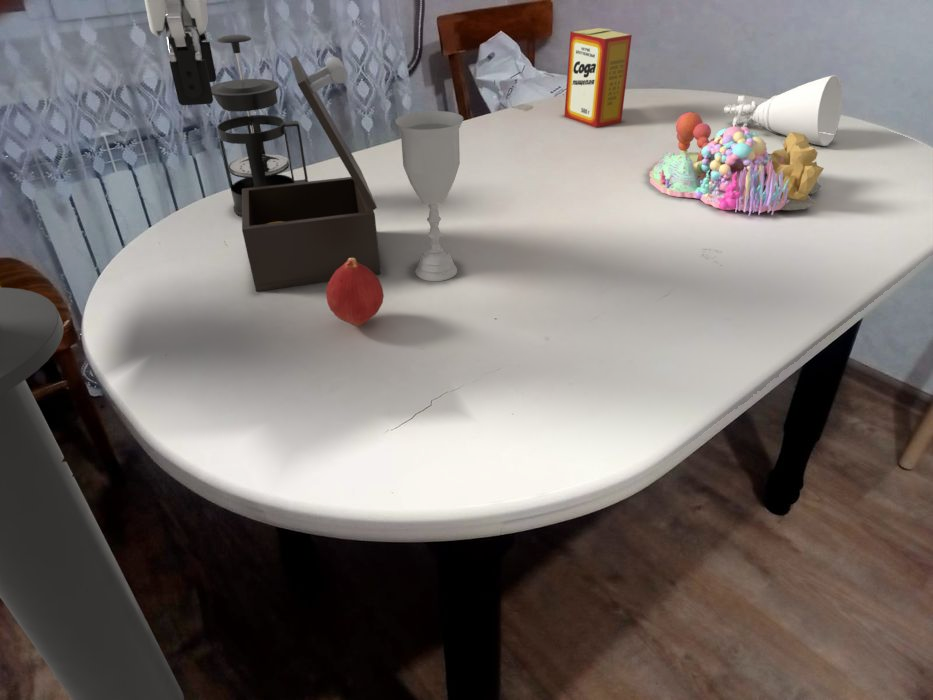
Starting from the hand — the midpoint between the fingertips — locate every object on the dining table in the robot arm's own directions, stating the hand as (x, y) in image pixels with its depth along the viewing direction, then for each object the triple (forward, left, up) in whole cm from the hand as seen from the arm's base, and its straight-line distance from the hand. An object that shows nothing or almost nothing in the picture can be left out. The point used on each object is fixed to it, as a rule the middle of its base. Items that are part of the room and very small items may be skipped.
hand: (199, 92), depth 69 cm
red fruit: (+15, -14, -21) cm, 29 cm away
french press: (+1, +20, -21) cm, 29 cm away
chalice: (+24, -3, -21) cm, 32 cm away
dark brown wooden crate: (+9, +2, -21) cm, 23 cm away
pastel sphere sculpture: (+71, +19, -21) cm, 76 cm away
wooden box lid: (+13, +2, -6) cm, 14 cm away
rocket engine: (+91, +43, -21) cm, 102 cm away
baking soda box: (+59, +57, -21) cm, 84 cm away
